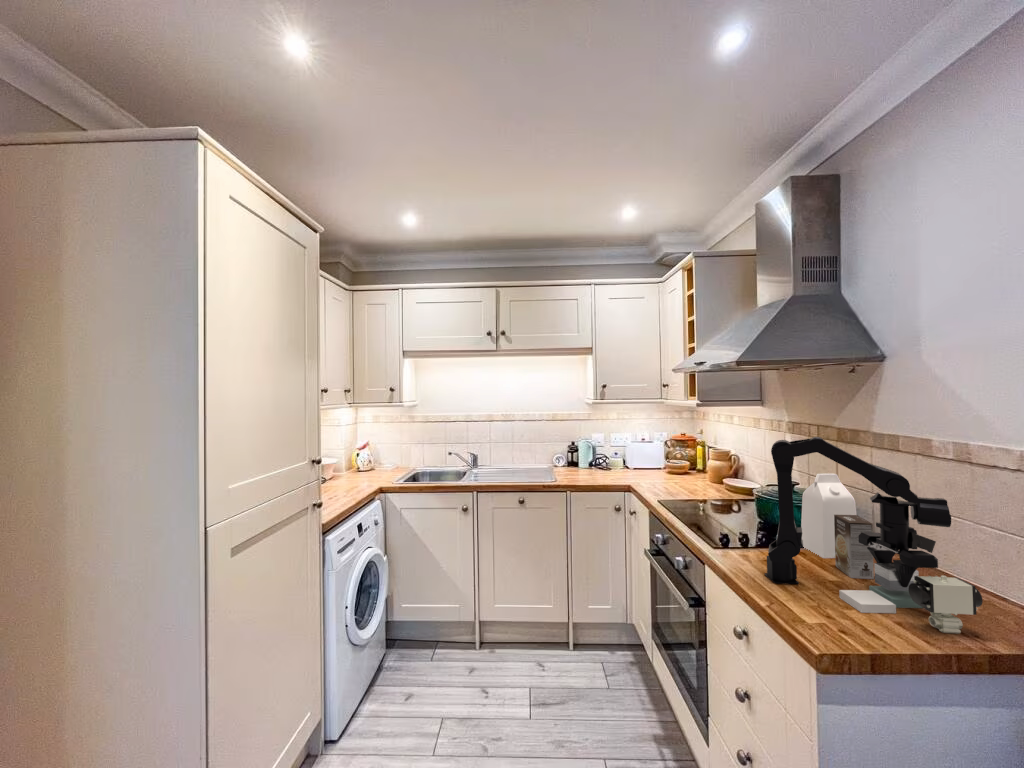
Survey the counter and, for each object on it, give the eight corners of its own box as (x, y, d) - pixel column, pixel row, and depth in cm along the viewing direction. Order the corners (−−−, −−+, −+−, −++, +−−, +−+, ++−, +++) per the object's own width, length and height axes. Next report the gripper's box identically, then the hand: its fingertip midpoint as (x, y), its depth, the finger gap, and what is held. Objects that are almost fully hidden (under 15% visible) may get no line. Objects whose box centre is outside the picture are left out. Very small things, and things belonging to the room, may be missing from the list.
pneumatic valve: (984, 637, 97) (982, 581, 97) (924, 633, 99) (922, 578, 99) (963, 624, 102) (961, 571, 103) (906, 621, 104) (904, 569, 104)
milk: (834, 545, 156) (832, 470, 157) (860, 557, 144) (857, 476, 145) (800, 546, 156) (798, 471, 156) (823, 558, 144) (820, 477, 145)
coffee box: (834, 566, 138) (832, 513, 138) (857, 567, 136) (856, 514, 137) (850, 578, 129) (848, 522, 129) (875, 579, 127) (874, 523, 128)
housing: (919, 591, 112) (918, 567, 112) (889, 590, 112) (888, 567, 113) (903, 582, 117) (902, 560, 117) (874, 582, 117) (874, 559, 118)
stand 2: (892, 607, 111) (892, 599, 111) (869, 593, 119) (869, 585, 119) (927, 608, 110) (926, 600, 110) (901, 593, 118) (900, 586, 118)
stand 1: (861, 612, 108) (861, 604, 108) (839, 597, 116) (839, 589, 116) (896, 613, 108) (895, 604, 108) (871, 598, 116) (871, 590, 116)
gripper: (961, 533, 105) (963, 600, 105) (898, 512, 124) (900, 569, 123) (911, 532, 106) (913, 598, 106) (856, 511, 125) (857, 568, 124)
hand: (896, 582), depth 115 cm, fingers closed on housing, 5 cm apart
